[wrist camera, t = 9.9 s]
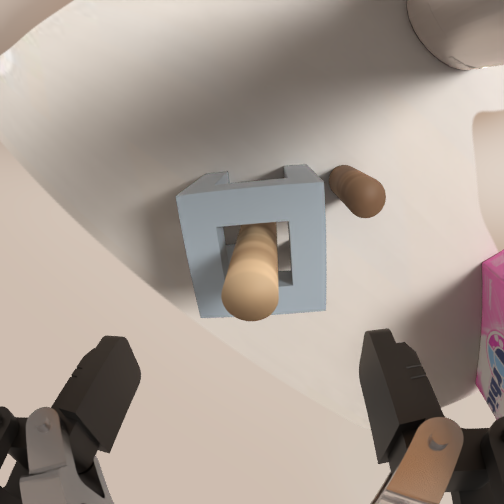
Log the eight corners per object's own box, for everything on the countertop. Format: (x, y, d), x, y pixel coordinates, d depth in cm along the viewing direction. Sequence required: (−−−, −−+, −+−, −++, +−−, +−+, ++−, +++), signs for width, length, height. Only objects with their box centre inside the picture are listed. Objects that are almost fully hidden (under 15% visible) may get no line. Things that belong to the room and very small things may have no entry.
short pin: (327, 165, 22) (345, 177, 17) (359, 164, 22) (385, 176, 17) (329, 197, 23) (346, 219, 18) (359, 195, 23) (385, 216, 18)
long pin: (242, 203, 24) (216, 274, 13) (274, 200, 24) (276, 270, 13) (246, 233, 25) (225, 322, 14) (277, 231, 25) (280, 319, 14)
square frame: (205, 174, 23) (175, 196, 16) (306, 164, 22) (323, 182, 15) (219, 264, 26) (200, 317, 19) (311, 257, 26) (325, 310, 18)
